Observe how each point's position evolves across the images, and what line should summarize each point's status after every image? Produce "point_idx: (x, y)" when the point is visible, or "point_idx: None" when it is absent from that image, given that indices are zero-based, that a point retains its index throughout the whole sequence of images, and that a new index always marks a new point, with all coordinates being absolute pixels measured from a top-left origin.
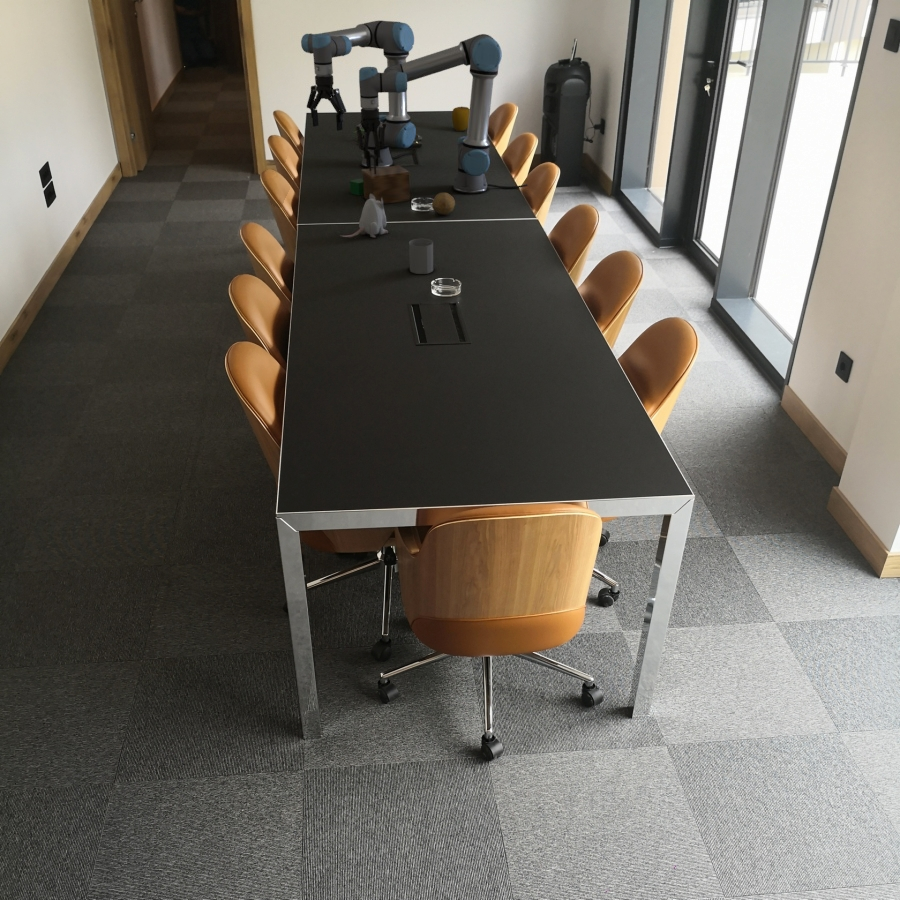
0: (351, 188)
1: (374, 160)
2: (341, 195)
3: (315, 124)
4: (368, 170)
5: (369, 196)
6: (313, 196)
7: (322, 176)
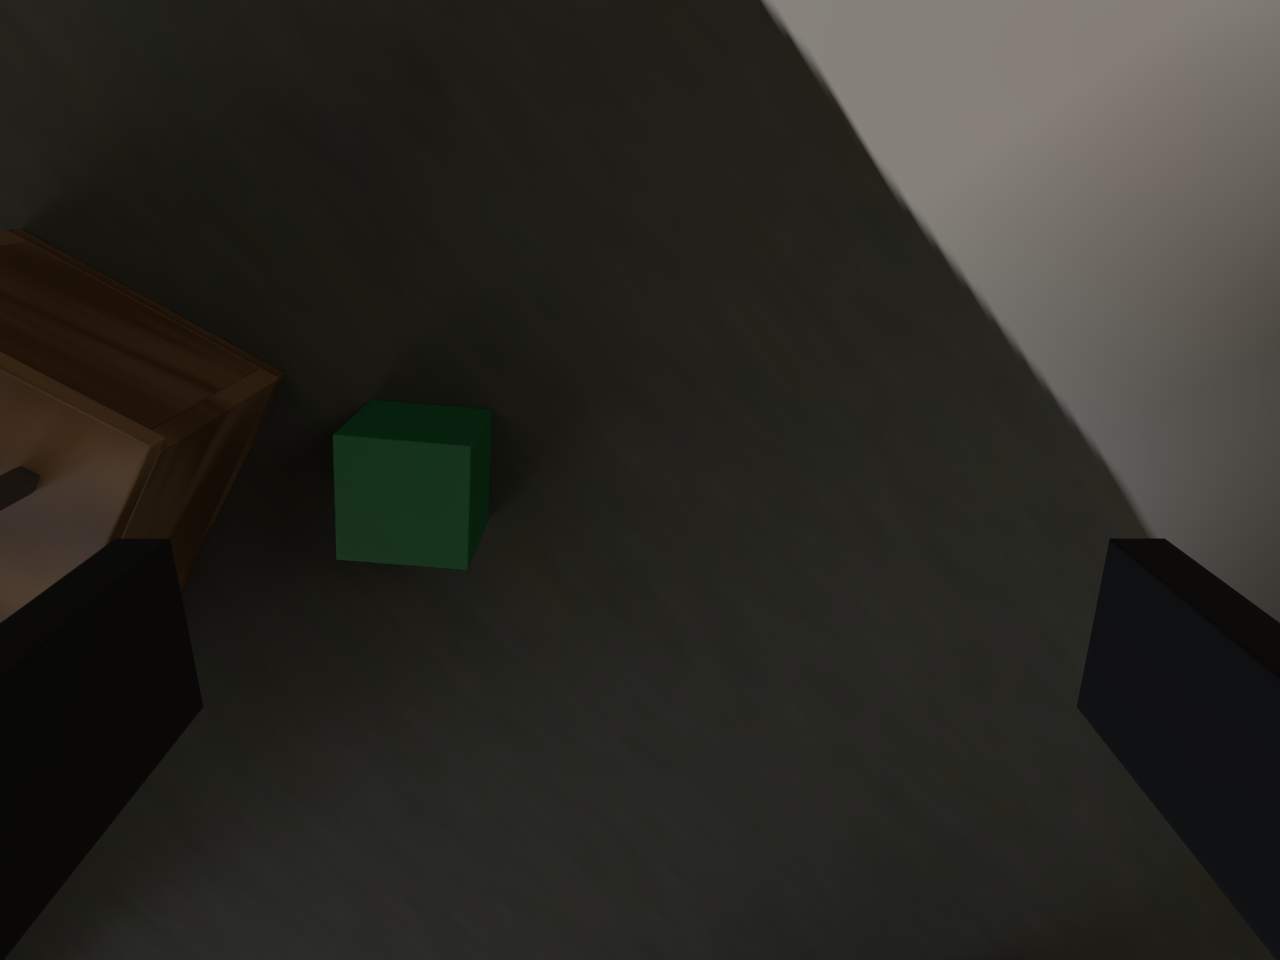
0: (466, 421)
1: None
2: (516, 304)
3: (1128, 619)
4: (41, 462)
5: (99, 297)
6: (734, 100)
7: (1076, 672)
